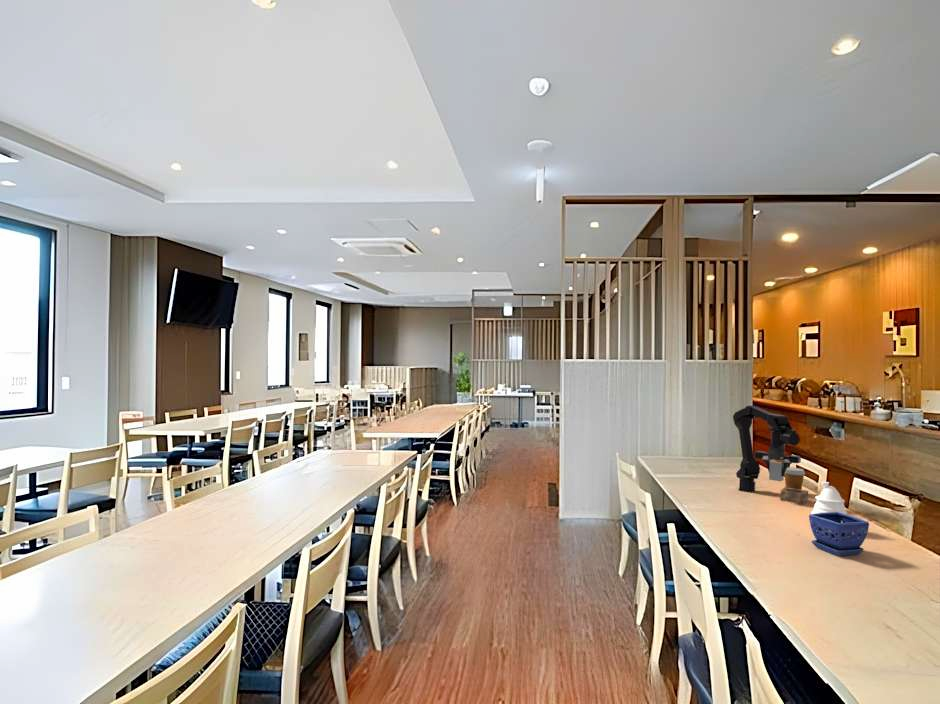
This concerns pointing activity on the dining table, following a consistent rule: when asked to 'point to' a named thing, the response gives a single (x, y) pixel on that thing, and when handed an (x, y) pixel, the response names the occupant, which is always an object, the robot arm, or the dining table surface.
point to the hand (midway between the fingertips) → (776, 475)
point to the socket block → (794, 495)
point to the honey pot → (829, 501)
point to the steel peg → (776, 470)
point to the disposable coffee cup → (794, 478)
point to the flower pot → (838, 532)
